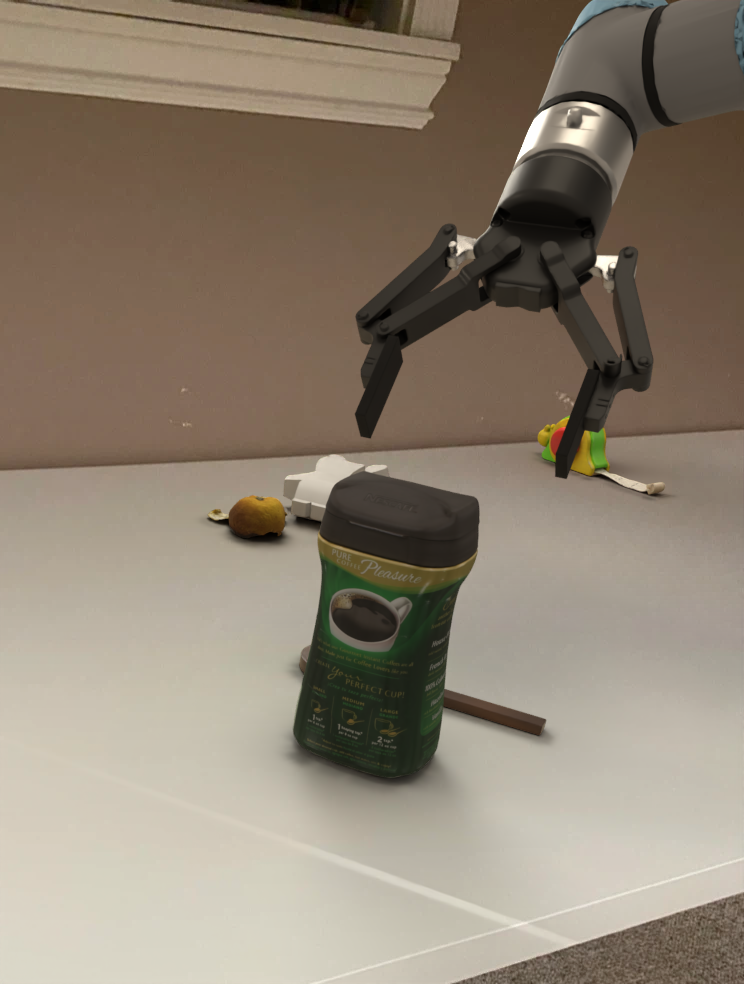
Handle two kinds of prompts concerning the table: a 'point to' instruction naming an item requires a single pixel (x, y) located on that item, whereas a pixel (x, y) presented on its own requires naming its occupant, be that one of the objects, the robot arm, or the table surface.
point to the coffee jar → (384, 622)
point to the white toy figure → (321, 484)
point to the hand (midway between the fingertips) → (458, 446)
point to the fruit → (254, 516)
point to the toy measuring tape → (589, 455)
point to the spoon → (477, 707)
